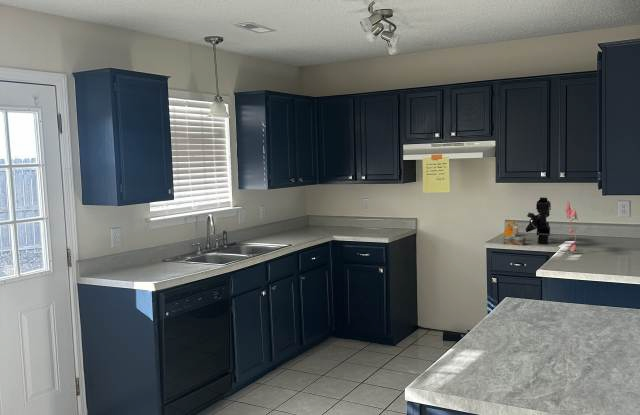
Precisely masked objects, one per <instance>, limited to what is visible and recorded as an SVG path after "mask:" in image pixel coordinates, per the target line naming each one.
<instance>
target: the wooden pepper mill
mask: <svg viewBox="0 0 640 415" xmlns="http://www.w3.org/2000/svg"><path fill="white" fill-rule="evenodd" d="M512 226H513V237H519V225H518V223H515V224H514V225H512Z"/></svg>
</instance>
